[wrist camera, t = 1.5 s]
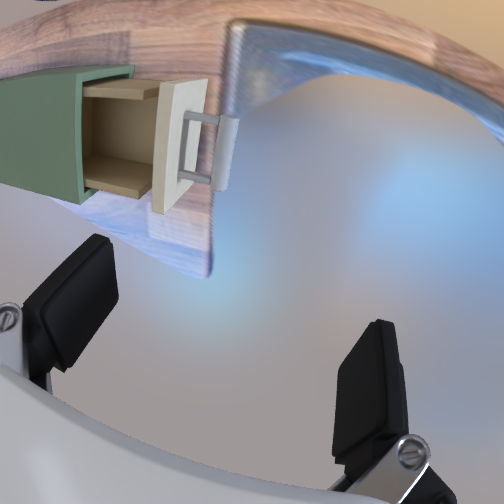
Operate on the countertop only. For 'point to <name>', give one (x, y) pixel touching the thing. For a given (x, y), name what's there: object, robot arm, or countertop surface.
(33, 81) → the cabinet
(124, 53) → the countertop surface
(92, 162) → the drawer
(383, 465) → the robot arm
